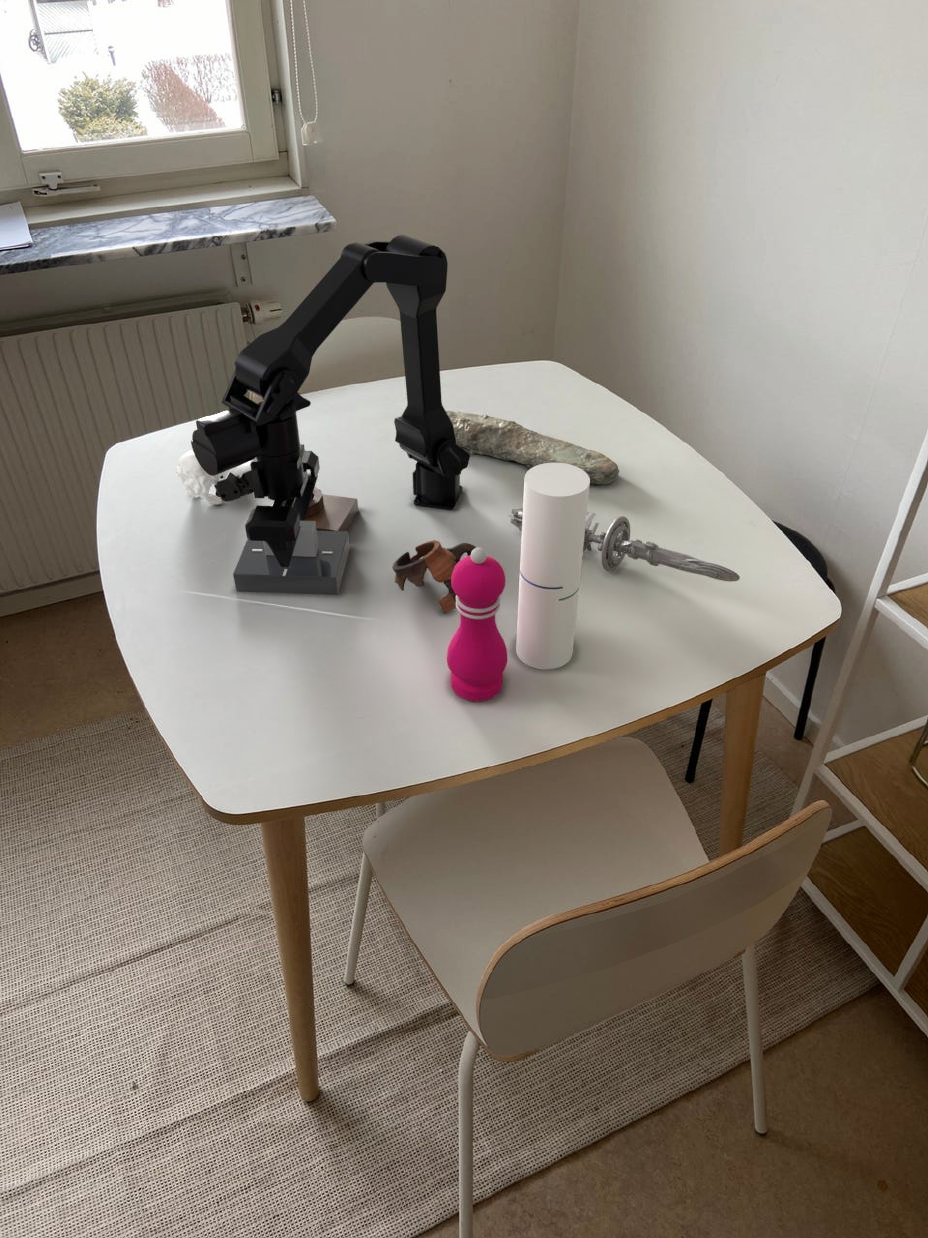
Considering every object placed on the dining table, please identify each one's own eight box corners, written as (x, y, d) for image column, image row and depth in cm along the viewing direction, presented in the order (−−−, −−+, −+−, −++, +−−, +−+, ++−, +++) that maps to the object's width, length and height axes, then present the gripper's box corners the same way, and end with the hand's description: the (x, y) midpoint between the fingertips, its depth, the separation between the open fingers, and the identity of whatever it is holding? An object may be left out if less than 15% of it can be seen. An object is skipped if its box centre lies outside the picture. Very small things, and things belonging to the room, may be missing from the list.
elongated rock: (600, 504, 146) (625, 479, 153) (606, 475, 142) (631, 451, 149) (415, 437, 158) (445, 417, 165) (416, 409, 155) (447, 389, 162)
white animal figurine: (168, 450, 138) (226, 425, 147) (176, 501, 143) (231, 474, 152) (199, 462, 136) (256, 436, 144) (205, 513, 140) (260, 485, 149)
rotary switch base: (350, 548, 134) (348, 529, 132) (337, 595, 125) (335, 577, 123) (254, 544, 135) (251, 526, 133) (235, 592, 126) (232, 573, 124)
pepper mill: (500, 709, 109) (506, 572, 96) (441, 700, 110) (438, 564, 97) (510, 668, 114) (517, 534, 102) (453, 660, 115) (453, 526, 103)
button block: (358, 510, 142) (356, 488, 139) (339, 543, 135) (336, 520, 132) (285, 501, 144) (281, 478, 141) (262, 532, 137) (258, 509, 135)
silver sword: (725, 583, 115) (750, 535, 118) (491, 519, 132) (517, 478, 135) (729, 618, 121) (752, 571, 124) (505, 552, 139) (530, 513, 141)
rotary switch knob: (318, 547, 129) (315, 519, 126) (315, 557, 127) (312, 528, 124) (269, 546, 129) (264, 517, 126) (265, 555, 127) (260, 526, 124)
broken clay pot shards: (430, 628, 121) (401, 575, 118) (404, 616, 129) (376, 567, 126) (502, 579, 124) (475, 526, 121) (472, 570, 133) (446, 521, 130)
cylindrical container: (512, 633, 119) (520, 463, 104) (567, 630, 120) (583, 461, 104) (520, 671, 114) (529, 497, 98) (577, 667, 114) (595, 494, 98)
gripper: (233, 410, 125) (249, 508, 135) (194, 482, 111) (216, 585, 121) (314, 412, 125) (325, 510, 135) (286, 485, 110) (301, 588, 120)
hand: (291, 546), depth 128 cm, fingers open, 9 cm apart
